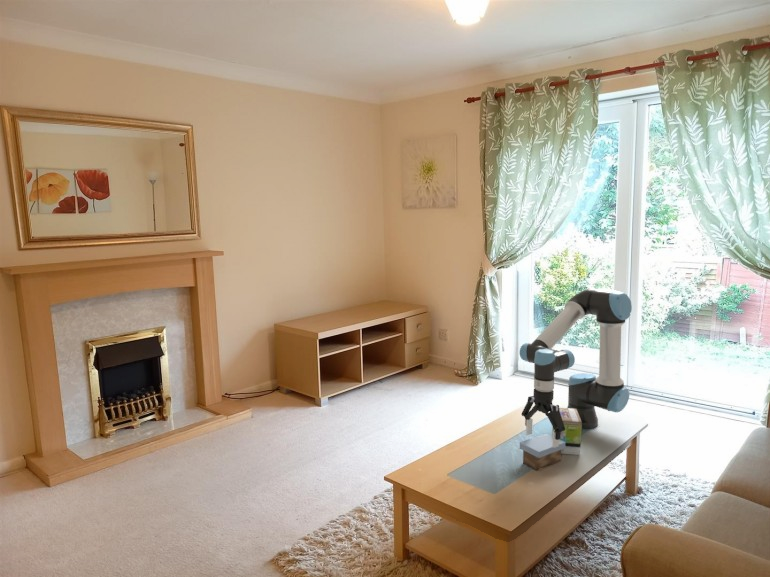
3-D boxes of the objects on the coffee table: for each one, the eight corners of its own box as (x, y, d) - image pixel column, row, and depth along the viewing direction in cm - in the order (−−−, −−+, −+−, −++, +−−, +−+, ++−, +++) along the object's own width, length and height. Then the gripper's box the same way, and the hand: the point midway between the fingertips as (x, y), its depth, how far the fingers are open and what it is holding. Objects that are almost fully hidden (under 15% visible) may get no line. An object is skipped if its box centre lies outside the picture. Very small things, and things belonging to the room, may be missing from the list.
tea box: (581, 455, 217) (582, 421, 215) (555, 453, 219) (556, 420, 217) (575, 439, 231) (576, 407, 229) (551, 438, 233) (552, 406, 231)
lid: (545, 440, 219) (545, 433, 219) (565, 449, 211) (565, 442, 210) (519, 450, 212) (519, 442, 211) (538, 459, 203) (538, 451, 203)
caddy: (547, 454, 218) (547, 440, 218) (560, 460, 213) (561, 446, 212) (523, 463, 211) (523, 449, 210) (536, 470, 205) (536, 456, 204)
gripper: (513, 382, 216) (512, 431, 219) (562, 400, 195) (560, 454, 198) (526, 379, 220) (525, 427, 223) (576, 396, 199) (574, 449, 202)
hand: (541, 440), depth 210 cm, fingers open, 13 cm apart
